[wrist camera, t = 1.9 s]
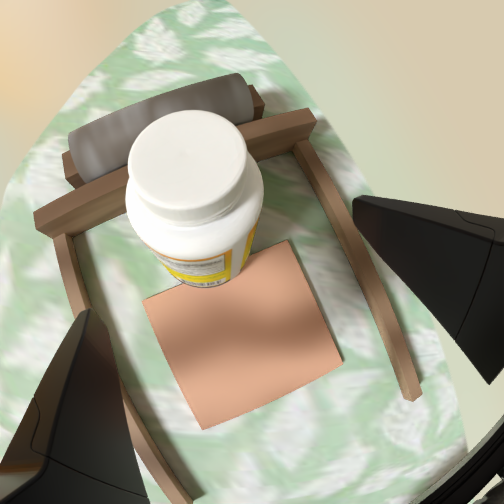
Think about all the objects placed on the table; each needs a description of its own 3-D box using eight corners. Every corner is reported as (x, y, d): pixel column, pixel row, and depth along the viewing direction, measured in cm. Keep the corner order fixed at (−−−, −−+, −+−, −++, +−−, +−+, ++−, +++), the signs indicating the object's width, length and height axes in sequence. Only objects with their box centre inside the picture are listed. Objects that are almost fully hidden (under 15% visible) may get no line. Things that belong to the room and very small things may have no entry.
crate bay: (413, 391, 18) (460, 404, 13) (180, 504, 15) (173, 549, 10) (274, 100, 22) (287, 53, 17) (50, 184, 19) (15, 151, 13)
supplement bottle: (216, 191, 20) (212, 74, 10) (267, 256, 19) (310, 171, 9) (146, 237, 19) (82, 145, 9) (194, 308, 18) (156, 273, 8)
